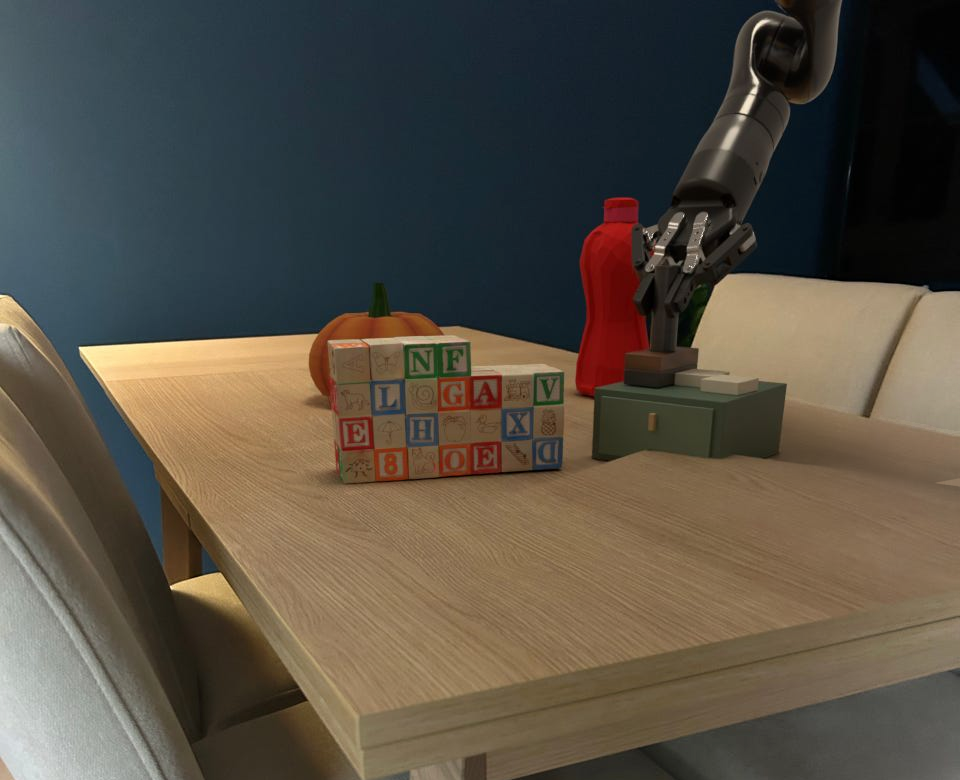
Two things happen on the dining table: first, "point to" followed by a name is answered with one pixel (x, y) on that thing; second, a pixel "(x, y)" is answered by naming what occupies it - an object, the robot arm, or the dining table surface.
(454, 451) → the stack of blocks
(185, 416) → the dining table surface
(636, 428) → the cabinet
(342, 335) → the pumpkin
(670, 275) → the brush
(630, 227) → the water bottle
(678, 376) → the block
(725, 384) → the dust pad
